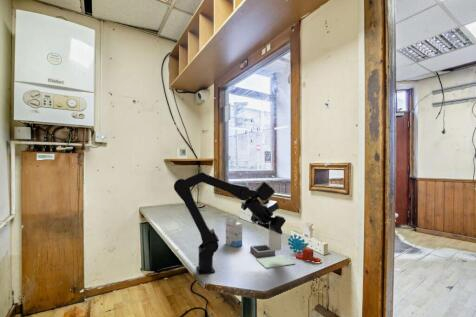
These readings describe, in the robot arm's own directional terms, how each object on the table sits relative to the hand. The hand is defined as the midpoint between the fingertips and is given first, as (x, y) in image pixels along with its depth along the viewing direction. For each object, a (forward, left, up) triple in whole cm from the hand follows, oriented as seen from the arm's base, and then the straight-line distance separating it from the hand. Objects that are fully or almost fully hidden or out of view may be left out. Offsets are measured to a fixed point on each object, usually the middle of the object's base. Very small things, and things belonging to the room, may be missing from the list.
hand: (277, 231), depth 105 cm
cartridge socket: (+11, +2, -13) cm, 17 cm away
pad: (0, +1, -13) cm, 13 cm away
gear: (+8, -16, -13) cm, 22 cm away
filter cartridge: (0, +1, -7) cm, 7 cm away
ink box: (+28, +11, -13) cm, 33 cm away
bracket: (-2, -14, -13) cm, 20 cm away
